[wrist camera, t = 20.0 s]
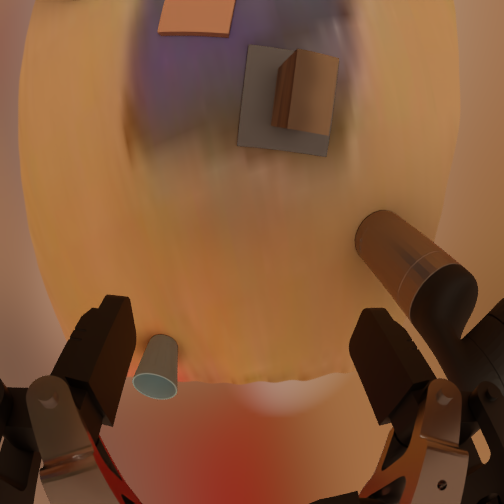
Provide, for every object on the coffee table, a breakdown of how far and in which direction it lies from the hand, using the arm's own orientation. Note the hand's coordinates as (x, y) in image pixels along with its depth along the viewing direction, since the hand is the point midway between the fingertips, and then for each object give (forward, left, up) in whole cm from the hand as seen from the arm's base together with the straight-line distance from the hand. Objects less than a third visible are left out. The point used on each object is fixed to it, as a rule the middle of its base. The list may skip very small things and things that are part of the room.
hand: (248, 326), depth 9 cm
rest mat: (-6, -10, -30) cm, 32 cm away
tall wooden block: (-6, -10, -30) cm, 32 cm away
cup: (+11, +33, -30) cm, 46 cm away
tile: (+7, -18, -29) cm, 35 cm away
